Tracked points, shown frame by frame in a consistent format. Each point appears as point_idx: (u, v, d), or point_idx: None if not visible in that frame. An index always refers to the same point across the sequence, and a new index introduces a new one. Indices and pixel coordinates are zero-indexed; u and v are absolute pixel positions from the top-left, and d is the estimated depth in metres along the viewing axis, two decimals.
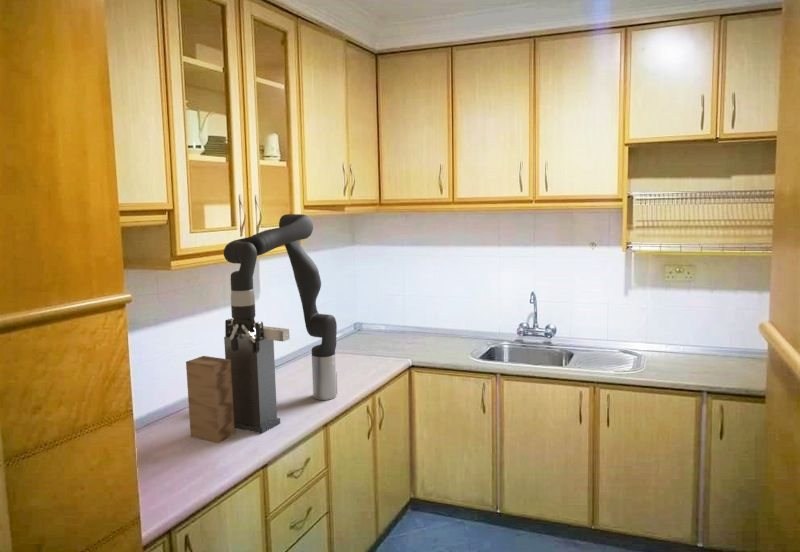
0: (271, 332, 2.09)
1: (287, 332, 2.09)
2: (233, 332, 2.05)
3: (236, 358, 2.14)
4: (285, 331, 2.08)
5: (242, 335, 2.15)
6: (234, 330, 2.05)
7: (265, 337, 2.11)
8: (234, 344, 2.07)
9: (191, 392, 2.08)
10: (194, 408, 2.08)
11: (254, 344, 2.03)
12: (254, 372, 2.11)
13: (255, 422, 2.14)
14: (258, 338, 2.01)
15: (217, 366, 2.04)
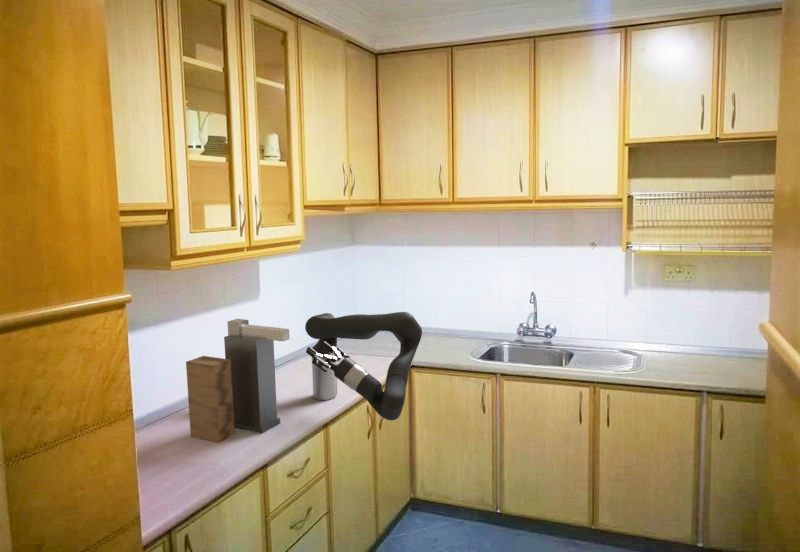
0: (271, 332, 2.09)
1: (287, 332, 2.09)
2: None
3: (236, 358, 2.14)
4: (285, 331, 2.08)
5: (242, 335, 2.15)
6: None
7: (265, 337, 2.11)
8: None
9: (191, 392, 2.08)
10: (194, 408, 2.08)
11: None
12: (254, 372, 2.11)
13: (255, 422, 2.14)
14: None
15: (217, 366, 2.04)
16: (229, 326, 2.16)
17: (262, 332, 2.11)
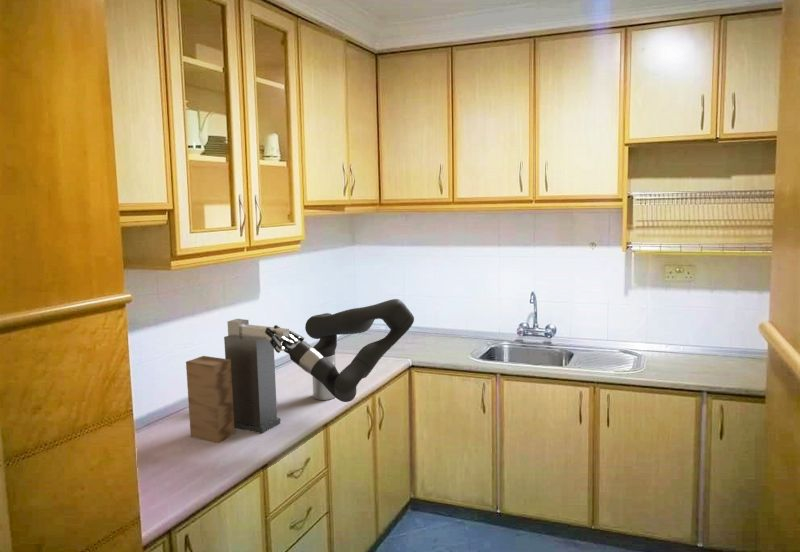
0: None
1: (287, 332, 2.09)
2: None
3: (236, 358, 2.14)
4: (285, 331, 2.08)
5: (242, 335, 2.15)
6: None
7: (265, 337, 2.11)
8: None
9: (191, 392, 2.08)
10: (194, 408, 2.08)
11: None
12: (254, 372, 2.11)
13: (255, 422, 2.14)
14: None
15: (217, 366, 2.04)
16: (229, 326, 2.16)
17: (262, 332, 2.11)
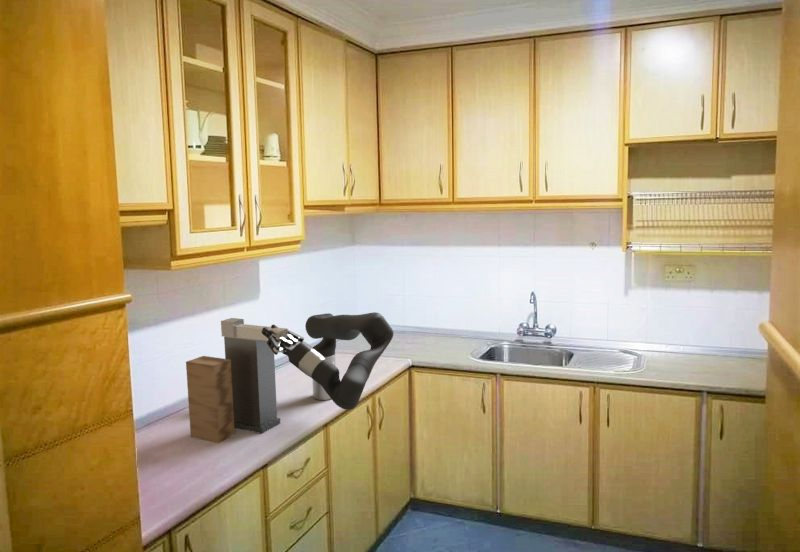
0: None
1: (285, 332, 1.93)
2: None
3: (236, 358, 2.14)
4: (283, 331, 1.92)
5: (237, 336, 1.98)
6: None
7: (262, 338, 1.94)
8: None
9: (191, 392, 2.08)
10: (194, 408, 2.08)
11: None
12: (254, 372, 2.11)
13: (255, 422, 2.14)
14: None
15: (217, 366, 2.04)
16: (223, 326, 2.00)
17: (258, 332, 1.94)
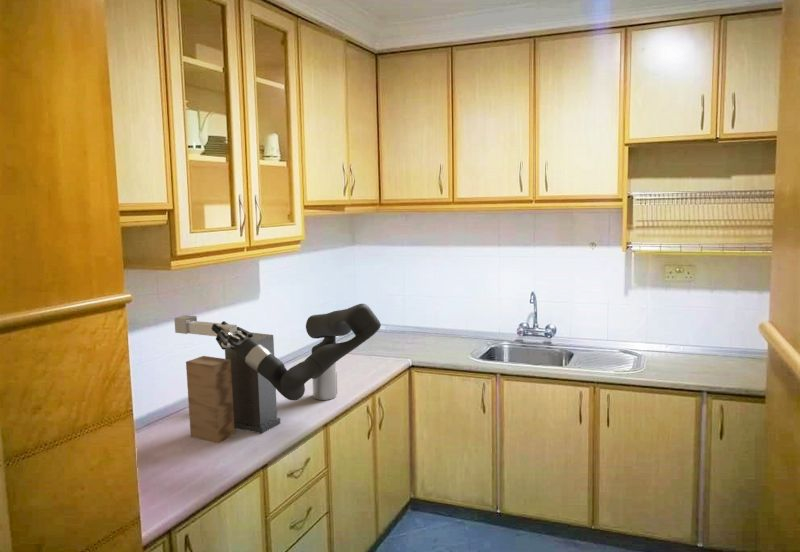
0: None
1: (234, 328, 2.02)
2: None
3: (236, 358, 2.14)
4: (232, 327, 2.01)
5: (189, 332, 2.08)
6: None
7: (212, 334, 2.03)
8: None
9: (191, 392, 2.08)
10: (194, 408, 2.08)
11: None
12: (254, 372, 2.11)
13: (255, 422, 2.14)
14: None
15: (217, 366, 2.04)
16: (176, 323, 2.09)
17: (209, 328, 2.04)
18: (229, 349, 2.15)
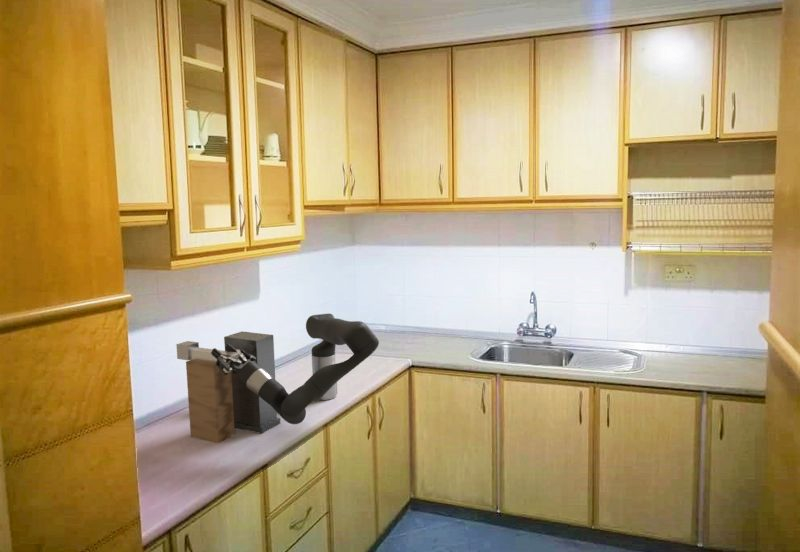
0: None
1: (236, 356, 2.03)
2: None
3: None
4: (234, 355, 2.02)
5: (191, 358, 2.09)
6: None
7: (214, 361, 2.04)
8: None
9: (191, 392, 2.08)
10: (194, 408, 2.08)
11: None
12: None
13: (255, 422, 2.14)
14: None
15: None
16: (178, 349, 2.10)
17: (211, 356, 2.05)
18: None
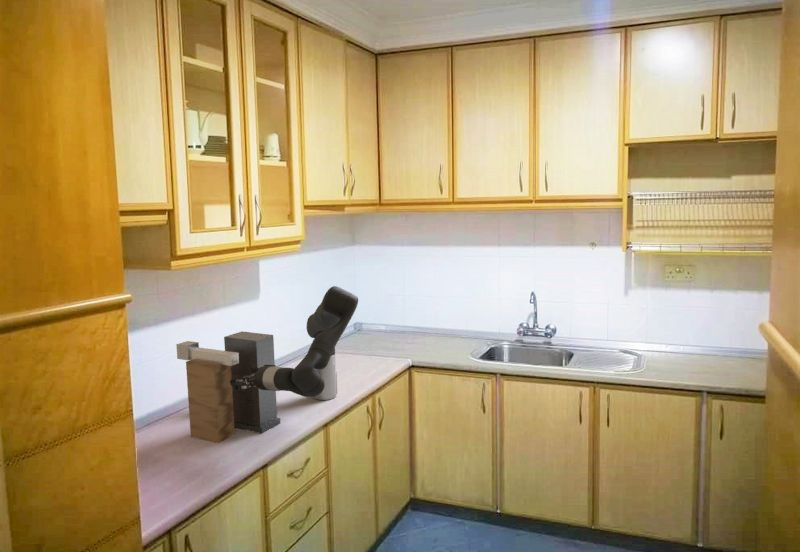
0: (220, 356, 2.03)
1: (236, 356, 2.03)
2: None
3: None
4: (234, 355, 2.02)
5: (191, 358, 2.09)
6: None
7: (214, 361, 2.04)
8: None
9: (191, 392, 2.08)
10: (194, 408, 2.08)
11: None
12: None
13: (255, 422, 2.14)
14: None
15: (217, 366, 2.04)
16: (178, 349, 2.10)
17: (211, 356, 2.05)
18: (229, 349, 2.15)
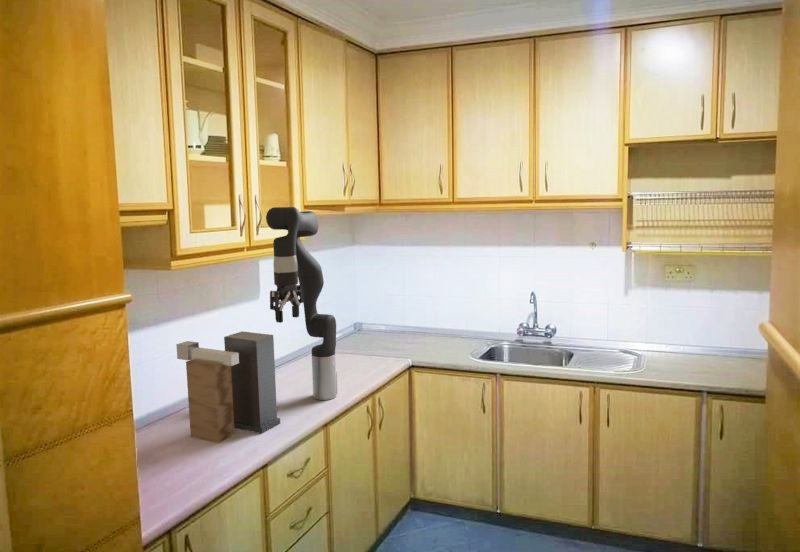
0: (220, 356, 2.03)
1: (236, 356, 2.03)
2: (285, 301, 1.98)
3: None
4: (234, 355, 2.02)
5: (191, 358, 2.09)
6: (286, 299, 1.99)
7: (214, 361, 2.04)
8: None
9: (191, 392, 2.08)
10: (194, 408, 2.08)
11: (298, 307, 2.06)
12: (254, 372, 2.11)
13: (255, 422, 2.14)
14: (302, 300, 2.07)
15: (217, 366, 2.04)
16: (178, 349, 2.10)
17: (211, 356, 2.05)
18: (229, 349, 2.15)
